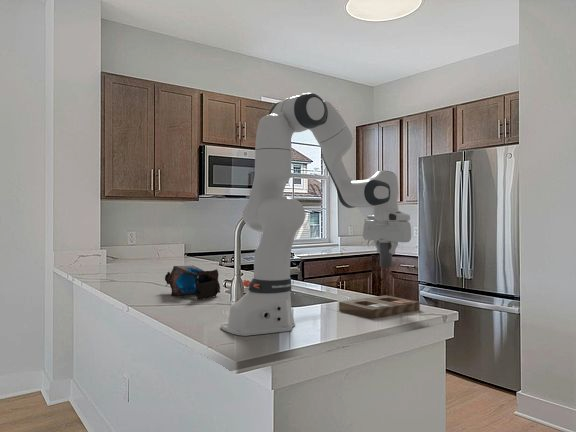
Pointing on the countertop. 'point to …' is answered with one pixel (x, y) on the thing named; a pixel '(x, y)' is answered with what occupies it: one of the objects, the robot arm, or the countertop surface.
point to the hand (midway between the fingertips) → (385, 253)
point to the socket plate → (379, 306)
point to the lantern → (193, 282)
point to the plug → (385, 253)
